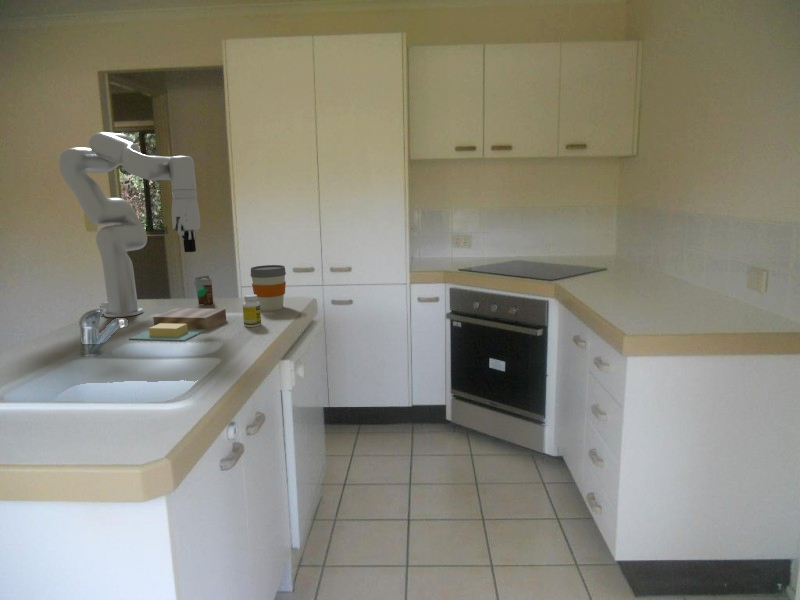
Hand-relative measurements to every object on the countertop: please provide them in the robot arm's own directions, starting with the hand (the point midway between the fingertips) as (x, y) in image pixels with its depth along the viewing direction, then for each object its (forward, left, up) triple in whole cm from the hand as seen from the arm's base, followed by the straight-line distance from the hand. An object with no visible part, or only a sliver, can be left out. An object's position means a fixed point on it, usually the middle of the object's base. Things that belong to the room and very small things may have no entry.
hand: (190, 251), depth 186 cm
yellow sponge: (+2, -20, -20) cm, 29 cm away
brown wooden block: (+2, -7, -23) cm, 24 cm away
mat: (+2, -20, -23) cm, 31 cm away
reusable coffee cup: (+18, +20, -23) cm, 36 cm away
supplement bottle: (+23, -6, -23) cm, 33 cm away
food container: (-12, +26, -23) cm, 37 cm away
